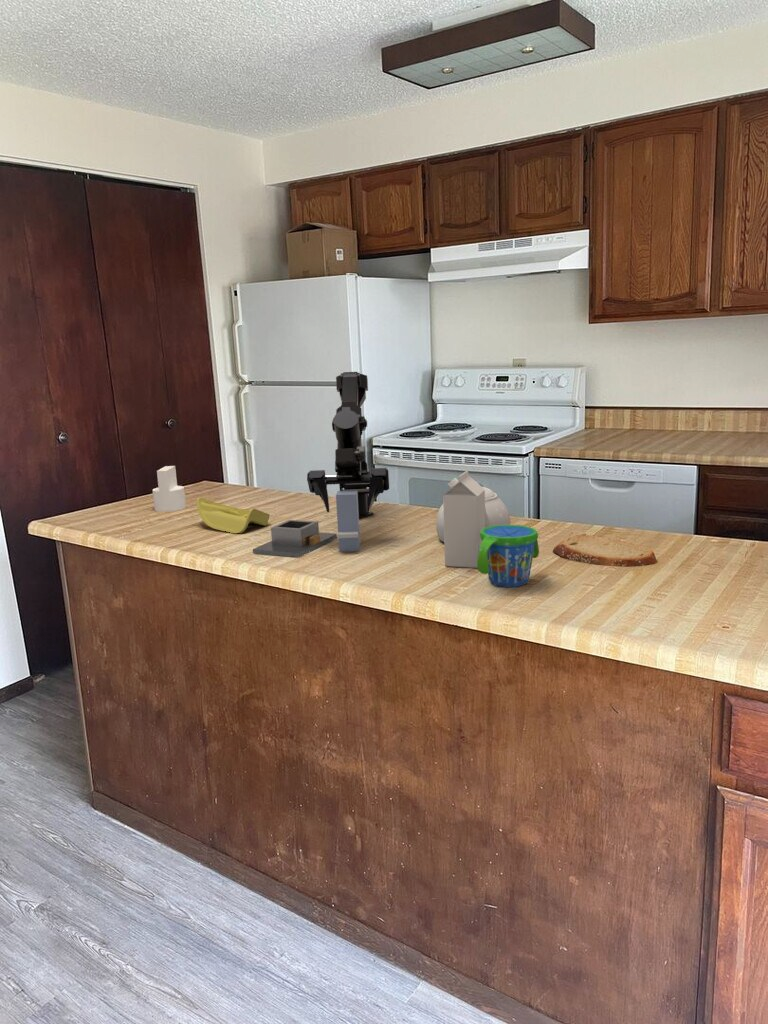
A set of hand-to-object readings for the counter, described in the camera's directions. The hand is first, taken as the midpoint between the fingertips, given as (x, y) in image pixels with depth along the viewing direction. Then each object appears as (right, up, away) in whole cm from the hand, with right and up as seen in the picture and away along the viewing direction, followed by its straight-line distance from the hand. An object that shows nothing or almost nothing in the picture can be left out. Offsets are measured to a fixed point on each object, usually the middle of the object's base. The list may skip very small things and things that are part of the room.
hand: (348, 510), depth 176 cm
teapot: (+29, -7, +5) cm, 30 cm away
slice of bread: (+54, -10, -13) cm, 57 cm away
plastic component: (-32, -4, +29) cm, 43 cm away
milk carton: (+25, -11, -14) cm, 31 cm away
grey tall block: (0, -9, +1) cm, 9 cm away
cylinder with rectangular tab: (-55, +1, +54) cm, 77 cm away
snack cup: (+32, -14, -28) cm, 45 cm away
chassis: (-12, -8, +6) cm, 16 cm away
